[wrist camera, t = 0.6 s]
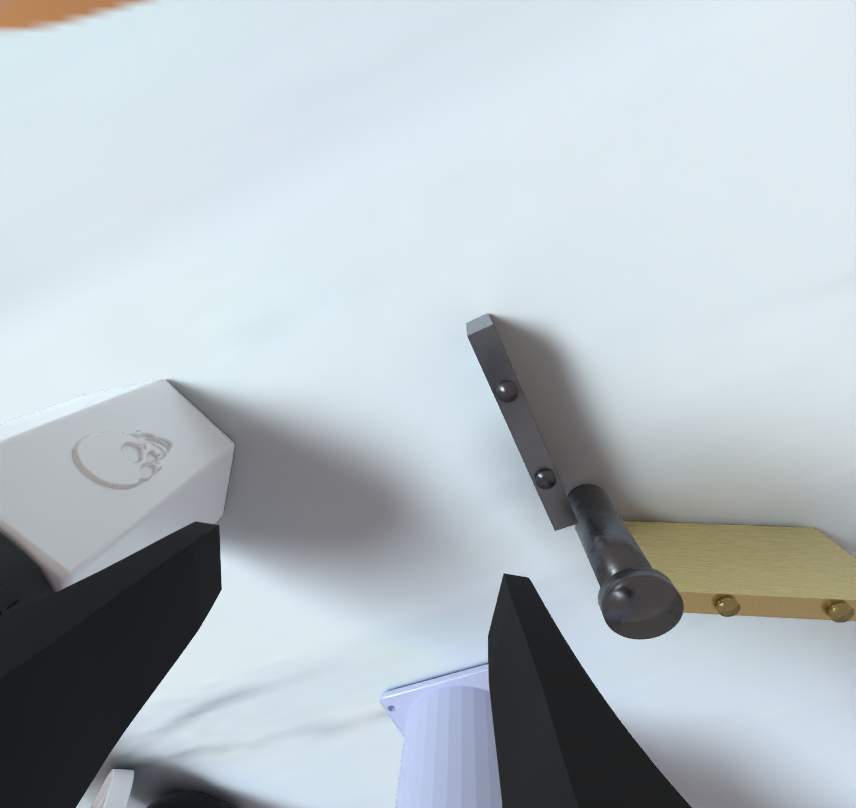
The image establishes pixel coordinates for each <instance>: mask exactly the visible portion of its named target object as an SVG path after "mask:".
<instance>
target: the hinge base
mask: <svg viewBox="0 0 856 808" xmlns="http://www.w3.org/2000/svg"><path fill="white" fill-rule="evenodd" d="M466 325H467V336H468V338H469V341H470V343H471V345H472V347H473V350H474V352H475V354H476V356H477V358H478V361H479V363H480V365H481V367H482V370H483V372H484V374H485V376H486V379H487V381H488V383H489V385H490V387H491V390H492V392H493V394H494V396H495V399H496V401H497V403H498V405H499V407H500V410H501V412H502V414H503V416H504V419H505V421H506V423H507V425H508V427H509V430H510V432H511V434H512V436H513V439H514V441H515V443H516V445H517V447H518V450H519V452H520V454H521V456H522V459H523V461H524V463H525V465H526V467H527V470H528V472H529V474H530V476H531V479H532V481H533V483H534V485H535V487H536V490H537V492H538V494H539V496H540V499H541V501H542V503H543V505H544V507H545V510H546V512H547V514H548V516H549V519H550V521H551V523H552V525H553V527H554V530H555V531H556V530H559V529H562V528H565V527H568V526H571V525H574V526H575V529H576V531H577V533H578V536H579V538H580V540H581V543H582V545H583V547H584V550H585V552H586V554H587V557H588V559H589V561H590V564H591V566H592V568H593V571H594V573H595V576H596V578H597V580H598V583H599V585H600V587H601V588H600V590H599V594H598V603H599V606H600V609H601V611H602V614H603V616H604V619H605V621H606V623H607V625H608V626H609V627H610V628H611V629H612V630H613V631H614V632H615V633H617V634H619V635H621V636H623V637H627V638H631V639H650V638H654V637H657V636H660V635H663V634H665V633H666V632H668V631H670V630H671V629H672V628H673V627H674V626H676V624H677V623H678V622H679V620H680V619H681V617H682V614H683V610H684V604H683V600H682V597H681V595H680V594H679V592H678V591H677V589H676V588H675V586H674V585H673V583H672V582H671V580H670V579H669V578H668V577H667V576H666V575H665V574H663V573H662V572H660V571H658V570H655V569H653V568H652V567H651V565H650V563H649V562H648V560H647V559H646V557H645V555H644V554H643V552H642V551H641V549H640V547H639V546H638V544H637V542H636V541H635V539H634V538H633V536H632V534H631V533H630V531H629V530H628V528H627V526H626V525H625V523H624V522H623V520H622V518H621V517H620V515H619V514H618V512H617V510H616V509H615V507H614V506H613V504H612V502H611V501H610V499H609V498H608V496H607V494H606V493H605V491H604V490H603V489H601V488H600V487H598V486H595V485H582V486H579V487H577V488H575V489H574V490H572V491H571V492H570V494H569V495H568V497H567V495H566V493H565V491H564V488H563V486H562V484H561V481H560V479H559V477H558V474H557V472H556V470H555V467H554V465H553V463H552V460H551V458H550V456H549V453H548V451H547V449H546V446H545V444H544V442H543V439H542V437H541V435H540V432H539V430H538V428H537V425H536V423H535V420H534V418H533V416H532V413H531V411H530V409H529V406H528V404H527V402H526V399H525V397H524V395H523V392H522V390H521V388H520V385H519V383H518V381H517V378H516V376H515V374H514V371H513V369H512V367H511V364H510V362H509V360H508V357H507V355H506V353H505V350H504V348H503V346H502V343H501V341H500V339H499V336H498V334H497V332H496V329H495V327H494V325H493V323H492V321H491V319H490V317H489V315H488V313H487V314H485V315H483V316H481V317H479V318H477V319H474V320H472V321H470V322H468V323H466Z"/></svg>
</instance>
